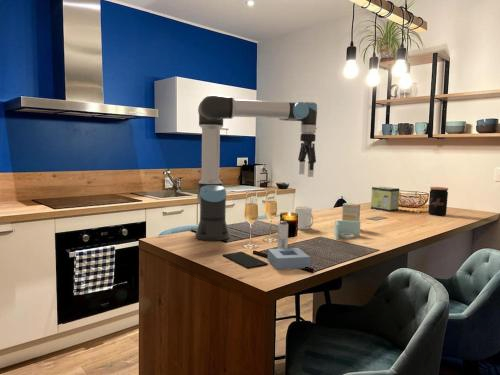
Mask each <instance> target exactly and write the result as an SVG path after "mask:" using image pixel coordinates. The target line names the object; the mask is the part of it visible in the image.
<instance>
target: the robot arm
mask: <svg viewBox="0 0 500 375" xmlns="http://www.w3.org/2000/svg"><path fill="white" fill-rule="evenodd" d="M197 108H198V110H197V112H198V126H199V128H201V179H200V180H199V181H198V184H197V185H198V190H197V193H196V194H197V195H196V196H197V197H196V198H197V202H198V205H199V222H198V226H197V228H196V232H195V238H196V239H198V240H201V241H205V242H206V241H207V242H217V241H219V242H220V241H224V239H225V240H227V239H229V238H230V231H229V228H228V225H227V222H226V217H227V215H226V212H227V210H226V209H227V208H226V204H227V203H226V202H227V201H226V200H227V199H226V198H227V189H226V188H225V187H224V186H223V181H221V178H220V154H221V151H220V149H221V148H220V145H221V142H220V141H221V138H220V137H221V129H222V128H223V127H224V120H226V119H227V120H229V119H233V118H234V117H235V118H238V117H239V118H261V119H262V118H264V119H279V120H280V121H285V122H288V121H289V122H301V123H300V133H301V134H300V141H301V143H300V149H299V154H298V158H297V159H298V160H297V161H298V162H299V165H298V167H299V168H298V175H305V167H306V166H305V164H306V157H307V159H308V162H307V178H311V177H312V178H314V172H315V171H314V170H315V163H317V160H316V159H317V157H316V149H315V148H316V147H315V142H316V131H317V129H318V128H317V117H318V105H317V103H316V102H312V101H309V102H308V101H298V102H289V101H274V100H273V101H271V100H270V101H269V100H256V99H255V100H254V99H253V100H251V99H250V100H249V99H236V98H234V97H233V96H223V95H218V94H209V95H206V97H204V98H203V99H202V101H200V103H199V105H198V107H197Z"/></svg>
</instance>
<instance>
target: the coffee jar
mask: <svg viewBox="0 0 500 375" xmlns="http://www.w3.org/2000/svg"><path fill="white" fill-rule="evenodd" d="M429 189H430V191H429V197H428V198H429V199H428V215H430V216H434V215H435V216H436V217H445V216H446V215H447V208H448V207H447V206H448V198H449V192H448V190H449V188H448V187H443V186H430V187H429ZM435 216H434V217H435Z"/></svg>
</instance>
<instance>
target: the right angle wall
mask: <svg viewBox="0 0 500 375" xmlns="http://www.w3.org/2000/svg"><path fill="white" fill-rule="evenodd" d="M333 231H334V237H335V239H336V240H339V238H341V239H343V240H345V239H346V240H351V239H355V238H356V236H357V237H358V236H359V237H360V235H361V234H360V233H361V221H344V220H342V219H340V220H339V219H335V220H334V230H333Z"/></svg>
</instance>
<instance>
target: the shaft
mask: <svg viewBox="0 0 500 375" xmlns="http://www.w3.org/2000/svg"><path fill="white" fill-rule="evenodd" d="M287 222H288V221H286V220H285V221H284V220H281V221H279V222H278V223H277V245H276V246H277V247H276V249H281V248H288V243H289V239H288V238H289V223H287Z"/></svg>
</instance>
